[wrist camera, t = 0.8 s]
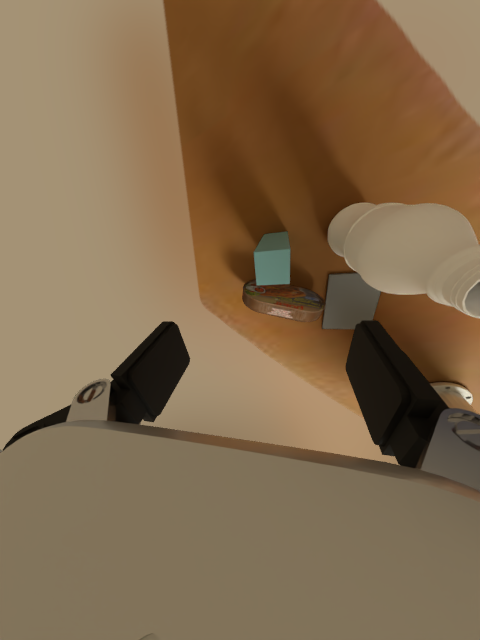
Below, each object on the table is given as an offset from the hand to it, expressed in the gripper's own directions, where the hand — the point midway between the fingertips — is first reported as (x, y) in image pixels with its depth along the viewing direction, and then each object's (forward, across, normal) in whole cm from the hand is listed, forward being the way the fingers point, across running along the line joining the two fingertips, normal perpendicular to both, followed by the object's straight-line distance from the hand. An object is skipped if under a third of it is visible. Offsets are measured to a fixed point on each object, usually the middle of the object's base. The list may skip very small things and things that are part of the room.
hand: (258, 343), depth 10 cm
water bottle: (+28, -12, -1) cm, 30 cm away
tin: (+28, -1, +9) cm, 29 cm away
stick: (+28, 0, 0) cm, 28 cm away
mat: (+28, -14, +12) cm, 33 cm away
